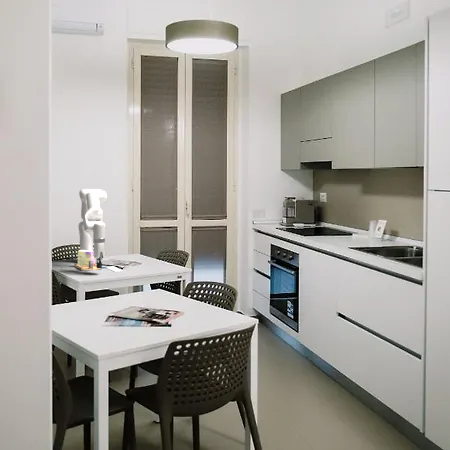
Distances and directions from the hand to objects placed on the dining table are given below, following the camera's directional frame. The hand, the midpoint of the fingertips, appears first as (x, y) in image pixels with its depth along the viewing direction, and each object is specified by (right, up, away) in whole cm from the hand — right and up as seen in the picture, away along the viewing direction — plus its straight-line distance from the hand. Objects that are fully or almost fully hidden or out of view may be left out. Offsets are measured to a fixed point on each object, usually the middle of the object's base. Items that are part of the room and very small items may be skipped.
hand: (99, 268), depth 393 cm
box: (-15, -1, +28) cm, 32 cm away
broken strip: (+6, -2, +20) cm, 21 cm away
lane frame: (-13, -2, +25) cm, 29 cm away
